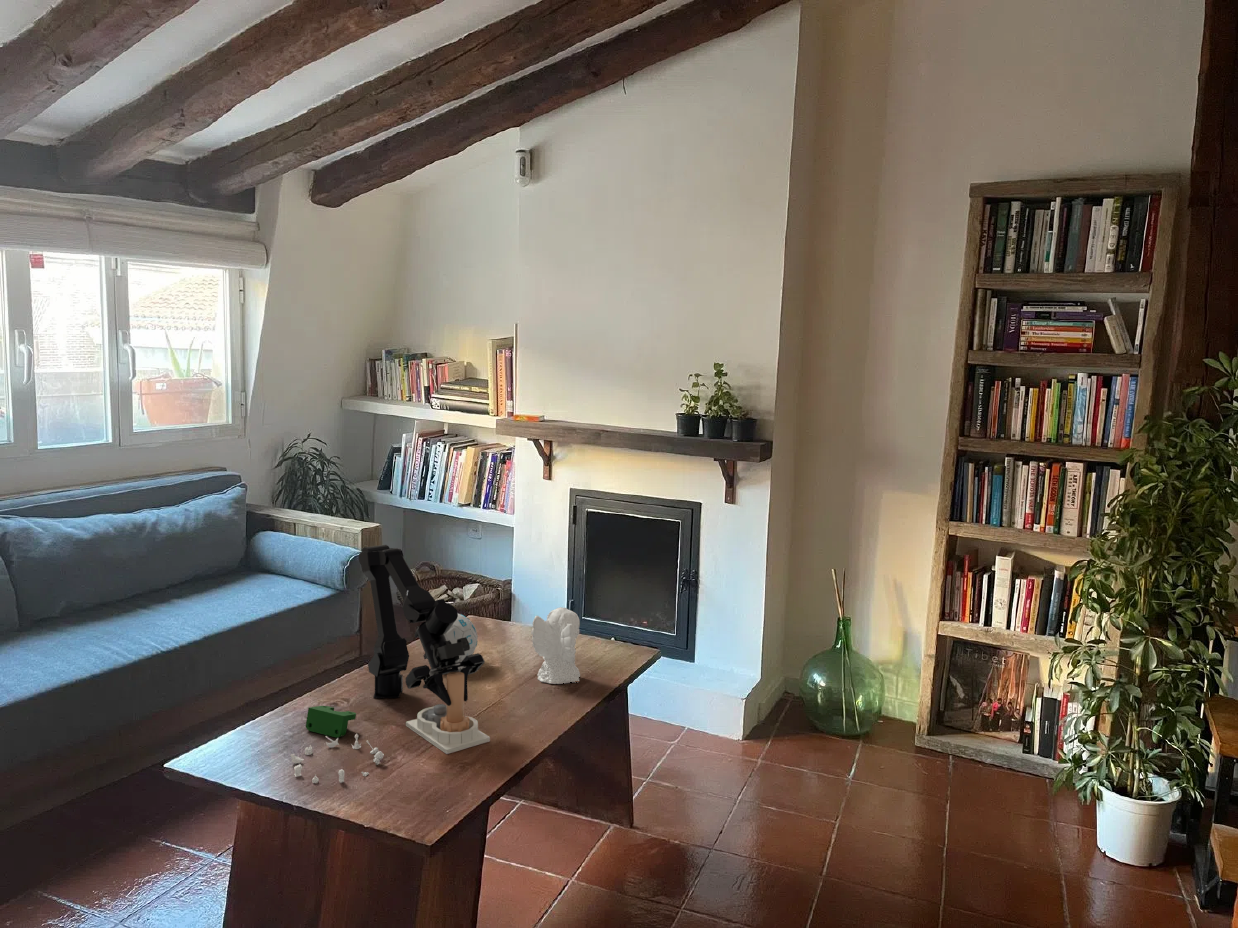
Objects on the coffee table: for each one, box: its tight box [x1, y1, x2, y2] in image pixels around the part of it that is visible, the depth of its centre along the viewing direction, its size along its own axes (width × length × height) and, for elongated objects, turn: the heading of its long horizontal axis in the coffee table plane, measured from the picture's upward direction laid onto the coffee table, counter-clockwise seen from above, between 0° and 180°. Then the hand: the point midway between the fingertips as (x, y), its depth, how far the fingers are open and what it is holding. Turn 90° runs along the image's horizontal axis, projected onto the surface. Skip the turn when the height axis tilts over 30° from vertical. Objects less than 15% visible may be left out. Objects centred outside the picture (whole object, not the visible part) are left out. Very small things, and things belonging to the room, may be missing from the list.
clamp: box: [305, 705, 357, 738], centre depth 223 cm, size 11×6×8 cm, turn 61°
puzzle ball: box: [444, 613, 478, 663], centre depth 269 cm, size 15×15×15 cm
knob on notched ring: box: [440, 672, 470, 732], centre depth 220 cm, size 7×7×13 cm
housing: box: [405, 703, 491, 755], centre depth 224 cm, size 19×12×6 cm, turn 41°
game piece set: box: [289, 733, 385, 784], centre depth 207 cm, size 19×20×4 cm
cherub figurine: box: [531, 606, 581, 685], centre depth 260 cm, size 13×12×20 cm
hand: (458, 702), depth 219 cm, fingers closed on knob on notched ring, 4 cm apart
